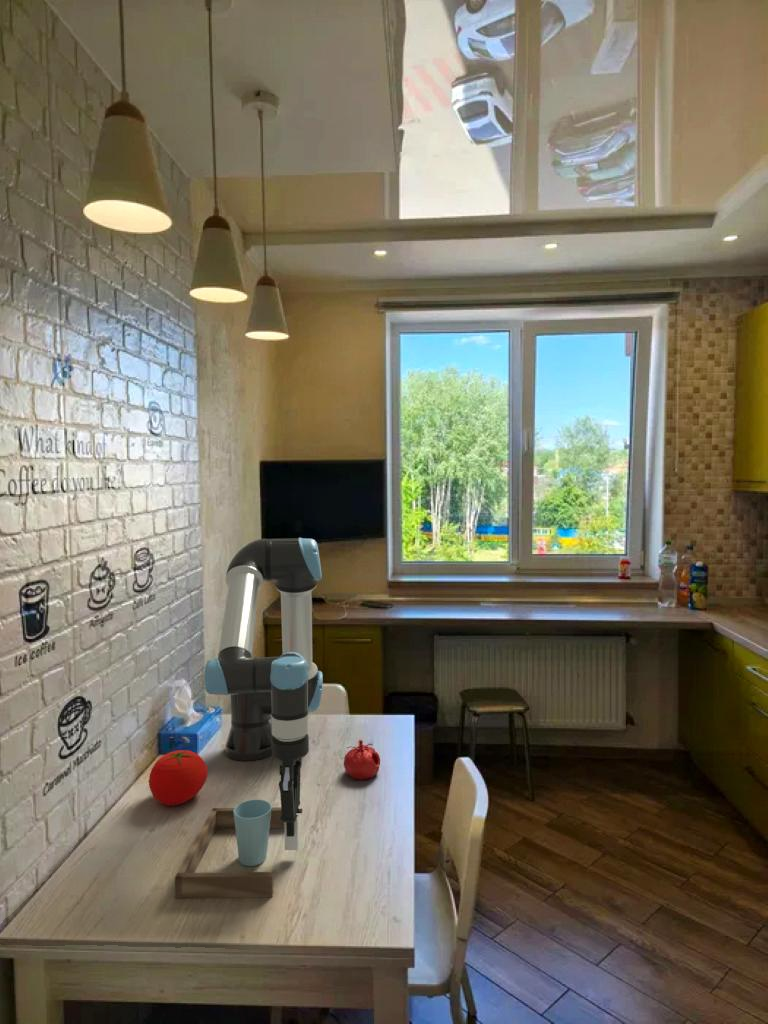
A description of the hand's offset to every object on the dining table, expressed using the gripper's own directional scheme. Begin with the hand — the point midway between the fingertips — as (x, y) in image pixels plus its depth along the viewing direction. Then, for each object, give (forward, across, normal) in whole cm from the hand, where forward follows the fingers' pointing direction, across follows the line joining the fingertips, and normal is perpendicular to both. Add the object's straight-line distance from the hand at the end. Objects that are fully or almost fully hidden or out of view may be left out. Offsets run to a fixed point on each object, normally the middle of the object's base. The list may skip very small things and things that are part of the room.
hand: (291, 847), depth 121 cm
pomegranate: (+2, -36, +12) cm, 39 cm away
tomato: (+2, -24, -32) cm, 40 cm away
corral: (+2, 0, -11) cm, 11 cm away
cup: (+2, 0, -8) cm, 8 cm away
